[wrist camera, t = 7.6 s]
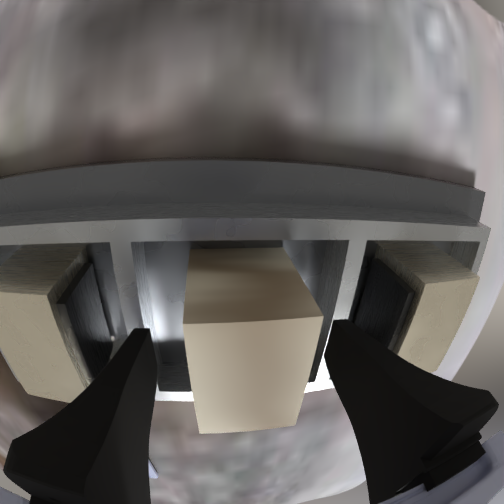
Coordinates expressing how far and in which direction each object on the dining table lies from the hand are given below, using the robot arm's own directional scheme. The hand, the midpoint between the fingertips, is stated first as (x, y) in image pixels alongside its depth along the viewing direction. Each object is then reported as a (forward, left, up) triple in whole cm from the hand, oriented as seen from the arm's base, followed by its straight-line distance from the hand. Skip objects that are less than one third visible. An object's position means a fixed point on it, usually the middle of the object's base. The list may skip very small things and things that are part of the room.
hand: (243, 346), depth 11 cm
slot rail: (0, 0, -4) cm, 4 cm away
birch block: (0, 0, -3) cm, 3 cm away
